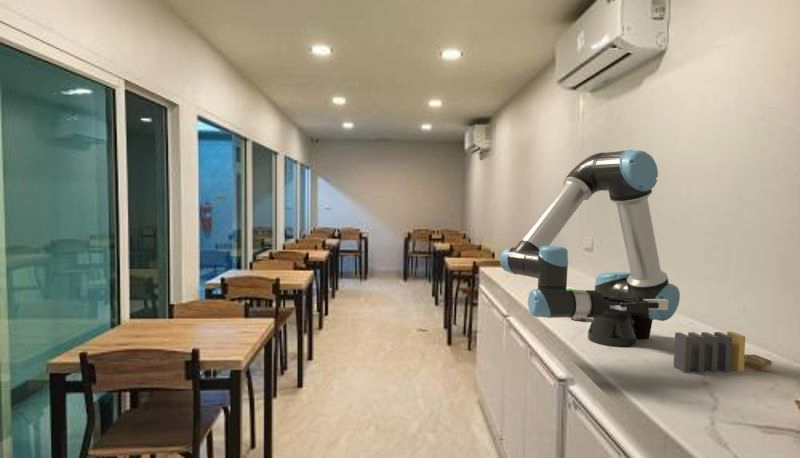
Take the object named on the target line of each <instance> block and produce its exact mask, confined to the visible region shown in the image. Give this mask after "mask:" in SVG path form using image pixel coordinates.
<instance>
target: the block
mask: <svg viewBox="0 0 800 458" xmlns="http://www.w3.org/2000/svg"><path fill="white" fill-rule="evenodd" d="M772 363H773V362H772V360H771V359H768V358H765V357H763V356H760V355H758V354H746V355H745V359H744V366H745V365H746V366H747V367H750V368H752V369H753V370H757V371H759V372H763V373H764V371H768V372H772Z"/></svg>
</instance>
